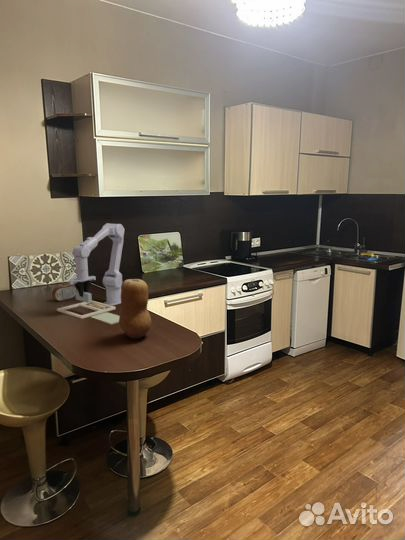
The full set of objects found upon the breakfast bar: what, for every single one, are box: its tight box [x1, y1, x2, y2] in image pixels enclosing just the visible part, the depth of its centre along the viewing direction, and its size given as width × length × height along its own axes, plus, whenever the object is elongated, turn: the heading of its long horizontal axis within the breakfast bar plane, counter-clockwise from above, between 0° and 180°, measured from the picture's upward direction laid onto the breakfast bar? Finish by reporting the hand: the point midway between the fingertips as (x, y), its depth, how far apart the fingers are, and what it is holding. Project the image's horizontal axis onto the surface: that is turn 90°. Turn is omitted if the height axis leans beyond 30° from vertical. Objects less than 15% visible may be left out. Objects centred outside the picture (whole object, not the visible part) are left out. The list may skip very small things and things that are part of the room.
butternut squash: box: [118, 278, 152, 340], centre depth 167 cm, size 14×13×25 cm
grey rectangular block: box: [75, 290, 93, 304], centre depth 202 cm, size 2×11×4 cm, turn 51°
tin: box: [51, 283, 78, 302], centre depth 228 cm, size 15×3×8 cm, turn 141°
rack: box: [56, 300, 116, 319], centre depth 208 cm, size 21×21×2 cm
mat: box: [90, 311, 120, 325], centre depth 194 cm, size 10×16×1 cm, turn 51°
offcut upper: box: [88, 303, 107, 310], centre depth 212 cm, size 4×10×1 cm, turn 48°
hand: (83, 296), depth 202 cm, fingers closed on grey rectangular block, 2 cm apart
